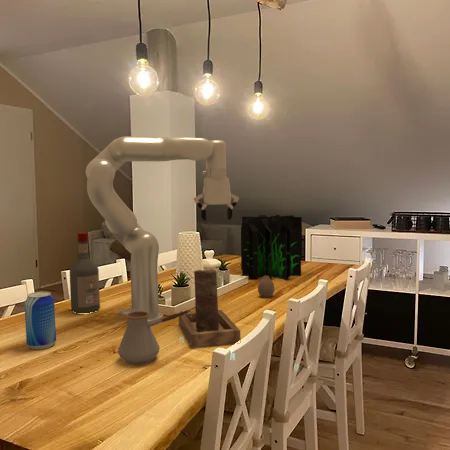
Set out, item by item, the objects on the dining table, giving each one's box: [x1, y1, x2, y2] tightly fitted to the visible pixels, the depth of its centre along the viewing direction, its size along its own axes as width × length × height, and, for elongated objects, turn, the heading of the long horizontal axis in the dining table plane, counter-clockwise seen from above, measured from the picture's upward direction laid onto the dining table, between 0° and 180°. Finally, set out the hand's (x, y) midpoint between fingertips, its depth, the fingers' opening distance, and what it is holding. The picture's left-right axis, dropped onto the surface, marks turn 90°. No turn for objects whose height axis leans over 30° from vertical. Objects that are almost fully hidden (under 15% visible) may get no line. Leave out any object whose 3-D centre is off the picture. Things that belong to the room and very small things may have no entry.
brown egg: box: [257, 276, 275, 299], centre depth 204 cm, size 7×7×9 cm
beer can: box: [24, 291, 57, 350], centre depth 147 cm, size 8×8×16 cm
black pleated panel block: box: [240, 214, 303, 281], centre depth 247 cm, size 29×30×30 cm
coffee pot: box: [117, 309, 192, 365], centre depth 134 cm, size 21×12×15 cm, turn 75°
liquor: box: [69, 232, 101, 314], centre depth 184 cm, size 9×9×30 cm
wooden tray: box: [178, 309, 241, 349], centre depth 157 cm, size 15×24×4 cm, turn 14°
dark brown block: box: [193, 268, 219, 332], centre depth 156 cm, size 8×7×20 cm
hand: (216, 219), depth 182 cm, fingers open, 9 cm apart
